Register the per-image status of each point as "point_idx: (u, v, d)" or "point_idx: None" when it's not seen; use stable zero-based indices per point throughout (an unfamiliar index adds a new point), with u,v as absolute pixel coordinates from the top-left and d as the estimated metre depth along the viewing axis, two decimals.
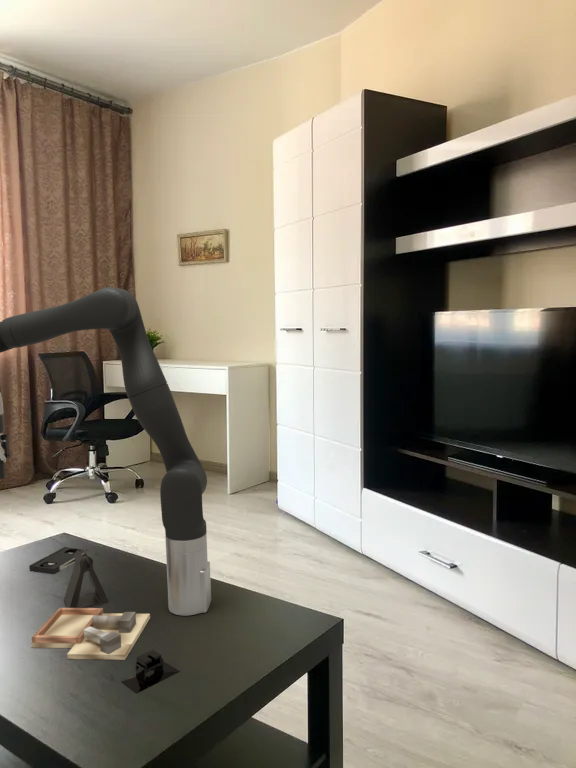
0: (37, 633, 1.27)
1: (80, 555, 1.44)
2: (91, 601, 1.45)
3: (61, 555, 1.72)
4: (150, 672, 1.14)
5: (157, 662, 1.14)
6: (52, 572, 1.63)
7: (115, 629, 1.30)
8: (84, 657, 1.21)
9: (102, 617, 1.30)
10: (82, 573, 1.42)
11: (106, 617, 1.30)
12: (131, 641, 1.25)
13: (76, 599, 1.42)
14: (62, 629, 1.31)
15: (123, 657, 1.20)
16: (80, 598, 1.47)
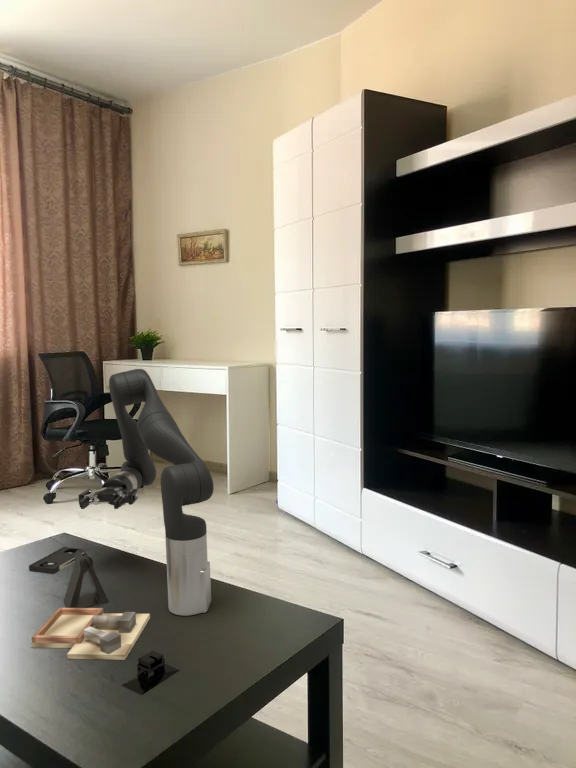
0: (37, 633, 1.27)
1: (80, 555, 1.44)
2: (91, 601, 1.45)
3: (60, 555, 1.72)
4: (151, 673, 1.14)
5: (159, 662, 1.14)
6: (52, 572, 1.63)
7: (115, 629, 1.30)
8: (84, 657, 1.21)
9: (102, 617, 1.30)
10: (82, 573, 1.42)
11: (106, 617, 1.30)
12: (131, 641, 1.25)
13: (76, 599, 1.42)
14: (62, 629, 1.31)
15: (123, 657, 1.20)
16: (80, 598, 1.47)
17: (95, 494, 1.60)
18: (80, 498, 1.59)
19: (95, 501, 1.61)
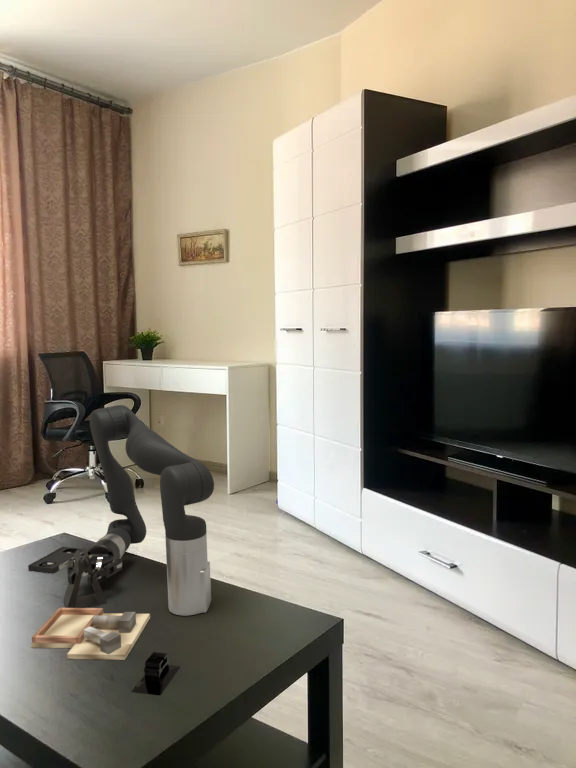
0: (37, 633, 1.27)
1: (79, 555, 1.44)
2: (90, 601, 1.45)
3: (59, 555, 1.72)
4: None
5: (164, 662, 1.14)
6: (51, 572, 1.63)
7: (115, 629, 1.30)
8: (84, 657, 1.21)
9: (102, 617, 1.30)
10: (80, 573, 1.42)
11: (106, 617, 1.30)
12: (131, 641, 1.25)
13: (74, 599, 1.42)
14: (62, 629, 1.31)
15: (123, 657, 1.20)
16: (80, 598, 1.47)
17: None
18: (69, 570, 1.47)
19: (84, 572, 1.49)
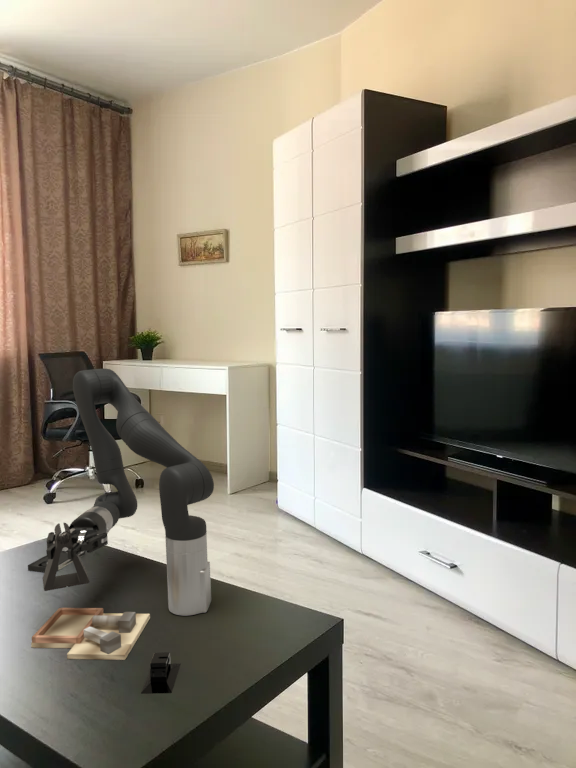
0: (37, 633, 1.27)
1: (58, 529, 1.29)
2: (71, 581, 1.31)
3: None
4: None
5: (166, 661, 1.14)
6: None
7: (115, 629, 1.30)
8: (84, 657, 1.21)
9: (102, 617, 1.30)
10: (59, 549, 1.27)
11: (106, 617, 1.30)
12: (131, 641, 1.25)
13: (52, 577, 1.27)
14: (62, 629, 1.31)
15: (123, 657, 1.20)
16: (61, 577, 1.33)
17: None
18: (48, 544, 1.32)
19: (65, 547, 1.34)
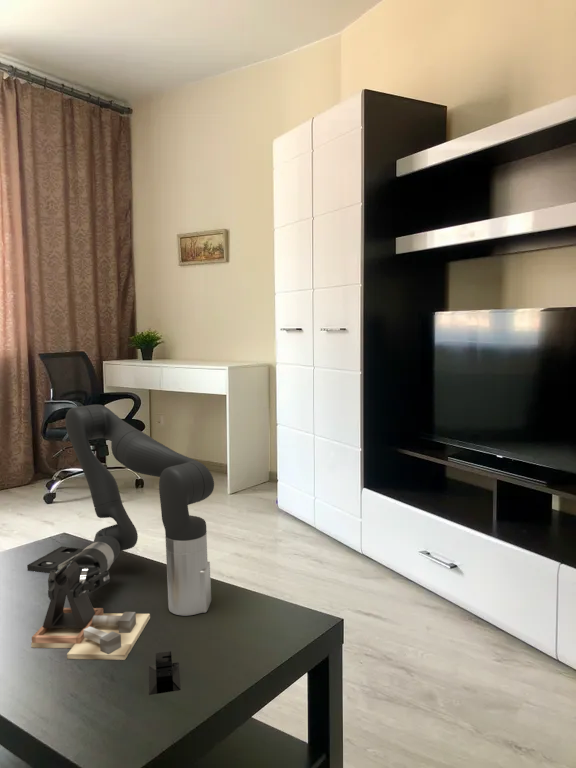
0: (37, 633, 1.27)
1: None
2: (71, 622, 1.30)
3: (58, 555, 1.72)
4: None
5: None
6: None
7: (115, 629, 1.30)
8: (84, 657, 1.21)
9: (102, 617, 1.30)
10: (56, 589, 1.28)
11: (106, 617, 1.30)
12: (131, 641, 1.25)
13: (50, 616, 1.29)
14: (62, 629, 1.31)
15: (123, 657, 1.20)
16: (69, 614, 1.34)
17: None
18: (50, 584, 1.32)
19: None
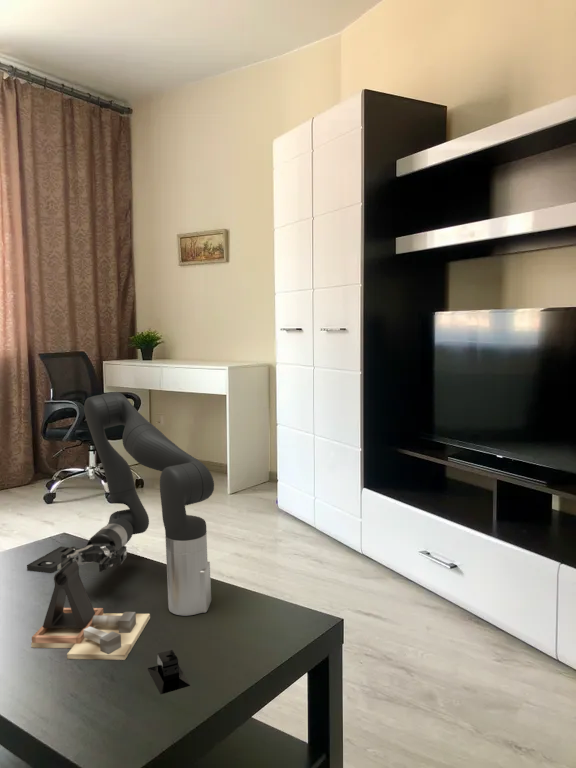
0: (37, 633, 1.27)
1: None
2: (71, 622, 1.30)
3: (58, 555, 1.73)
4: None
5: None
6: (50, 571, 1.63)
7: (115, 629, 1.30)
8: (84, 657, 1.21)
9: (102, 617, 1.30)
10: (56, 589, 1.28)
11: (106, 617, 1.30)
12: (131, 641, 1.25)
13: (50, 616, 1.29)
14: (62, 629, 1.31)
15: (123, 657, 1.20)
16: (69, 614, 1.34)
17: (79, 553, 1.44)
18: (62, 558, 1.43)
19: (79, 561, 1.44)
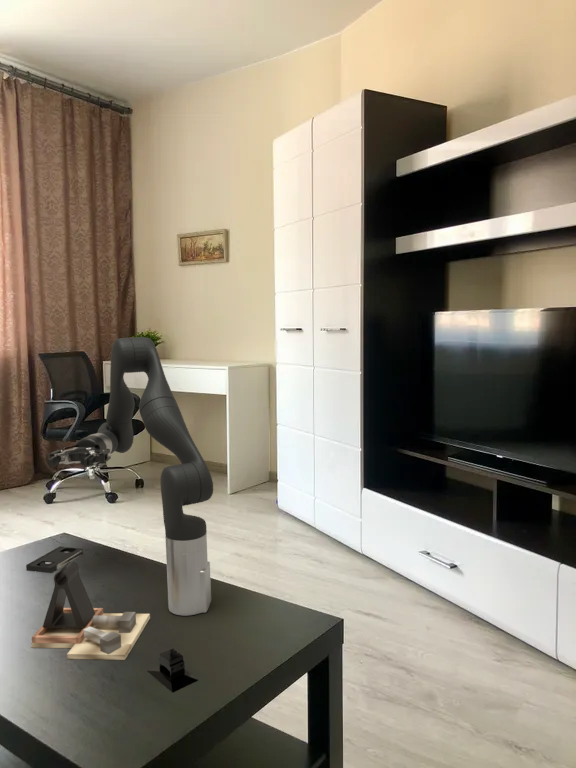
0: (37, 633, 1.27)
1: None
2: (71, 622, 1.30)
3: (57, 554, 1.73)
4: None
5: None
6: (50, 571, 1.64)
7: (115, 629, 1.30)
8: (84, 657, 1.21)
9: (102, 617, 1.30)
10: (56, 589, 1.28)
11: (106, 617, 1.30)
12: (131, 641, 1.25)
13: (50, 616, 1.29)
14: (62, 629, 1.31)
15: (123, 657, 1.20)
16: (69, 614, 1.34)
17: (66, 453, 1.55)
18: (50, 457, 1.54)
19: (66, 460, 1.55)
